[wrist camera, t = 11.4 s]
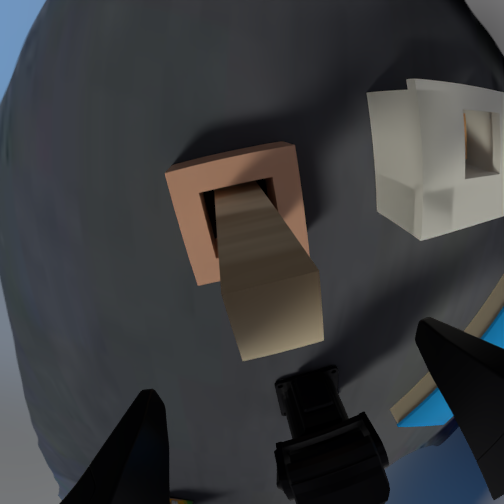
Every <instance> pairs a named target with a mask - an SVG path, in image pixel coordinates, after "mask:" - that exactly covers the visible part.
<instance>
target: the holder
mask: <svg viewBox="0 0 504 504" xmlns="http://www.w3.org/2000/svg"><path fill="white" fill-rule="evenodd" d="M165 176H166V180H167V184H168V187H169V191H170V195H171V198H172V202H173V205H174V209H175V212H176V216H177V219H178V223H179V226H180V230H181V233H182V236H183V240H184V243H185V246H186V249H187V253H188V256H189V259H190V262H191V265H192V269H193V272H194V275H195V278H196V281H197V284H198V286H199V285H203V284H208V283H212V282H217V281H220V269H219V256H218V242H217V238H216V239H215V237H214V233H213V229H212V225H211V221H210V217H209V213H208V209H207V205H206V201H205V197H204V193H203V192H205V191H209V190H213V189H218V188H222V187H226V186H231V185H235V184H240V183H245V182H249V181H254V180H259V179H264V178H265V182H266V188H267V194H268V199H269V200H270V201H271V203H272V204H273V206H274V207H275V208H276V210H277V211H278V212H279V214H280V215H281V217H282V218H283V220H284V221H285V222H286V224H287V225H288V227H289V228H290V229H291V231H292V232H293V234H294V235H295V237H296V238H297V239H298V241H299V242H300V244H301V245H302V247H303V248H304V250H305V251H306V252H307V254H308V255H309V246H308V237H307V228H306V220H305V212H304V204H303V196H302V189H301V182H300V175H299V168H298V161H297V155H296V149H295V145H293V144H290V143H287V142H283V141H279V142H274V143H268V144H262V145H257V146H252V147H247V148H242V149H237V150H232V151H227V152H223V153H218V154H214V155H210V156H205V157H201V158H197V159H193V160H189V161H185V162H181V163H177V164H174V165H171V167H170V168H169V169H168V170H167V171H166V172H165ZM309 257H310V255H309Z"/></svg>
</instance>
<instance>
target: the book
mask: <svg viewBox="0 0 504 504" xmlns="http://www.w3.org/2000/svg"><path fill="white" fill-rule="evenodd" d="M464 332H466V333H469V334H471V335H473V336H475V337H478V338H480V339H482V340H485V341H487V342H489V343H492V344H494V345H496V346H499V347H501V348H503V349H504V274H503V276H502V277H501V279H500V281H499V282H498V284H497V285H496V287H495V288H494V290H493V291H492V293H491V294H490V296H489V297H488V299H487V300H486V302H485V303H484V305H483V306H482V308H481V309H480V310H479V312H478V313H477V314H476V316H475V317H474V319H473V320H472V321H471V323H470V324H469V325H468V326H467V328H466V329H465V330H464ZM390 411H391V413H392V414H393V416H394V418H395V420H396V422H397V426H398V427H415V426H434V425H444V424H445V423H446V422H447V421H448V420H449V419H450V418H452V417H453V416H454V415H453V414H452V412H451V410H450V408H449V406H448V404H447V403H446V401H445V399H444V397H443V396H442V394H441V392H440V390H439V389H438V387H437V385H436V383H435V382H434V380H433V378H432V376H431V374H430V372H428V373H427V374H426V375H425V376H424V377H423V378H422V379H421V380H420V381H419V382H418V383H417V384H416V385H415V386H414V387H413V388H412V389H411V390H410V391H409V392H408V393H407V394H406V395H405V396H404V397H403V398H402V399H401V400H400V401H398V402H397V403H396V404H395V405H394V406H393V407H392V408H391V409H390Z"/></svg>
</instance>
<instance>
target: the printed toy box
mask: <svg viewBox="0 0 504 504" xmlns="http://www.w3.org/2000/svg"><path fill="white" fill-rule="evenodd" d="M170 504H193V501H190V500H183V499H175V498H170Z"/></svg>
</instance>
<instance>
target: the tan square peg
mask: <svg viewBox="0 0 504 504" xmlns="http://www.w3.org/2000/svg"><path fill="white" fill-rule="evenodd" d="M214 193H215V211H216V227H217V242H218V256H219V269H220V282H221V294H222V298H223V301H224V304H225V307H226V311H227V314H228V317H229V320H230V323H231V326H232V330H233V333H234V336H235V339H236V342H237V345H238V348H239V351H240V354H241V357H242V360H243V361H246V360H251V359H255V358H259V357H264V356H268V355H272V354H276V353H280V352H284V351H288V350H291V349H295V348H299V347H303V346H306V345H310V344H313V343H317V342H320V341H324V334H323V317H322V302H321V289H320V277H319V270H318V269H317V267H316V266H315V264H314V263H313V261H312V260H311V258H310V257H309V255H308V254H307V252H306V251H305V250H304V248H303V247H302V245H301V244H300V242H299V241H298V239H297V238H296V237H295V235H294V234H293V232H292V231H291V229H290V228H289V227H288V225H287V224H286V222H285V221H284V220H283V218H282V217H281V215H280V214H279V212H278V211H277V210H276V208H275V207H274V206H273V204H272V203H271V201H270V200H269V199H268V197H267V196H266V194H265V193H264V192H263V190H262V189H261V188H260V186H259V185H258V184H257V182H256V181H255V180H254V181H249V182H245V183H240V184H235V185H231V186H226V187H222V188H218V189H214Z"/></svg>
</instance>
